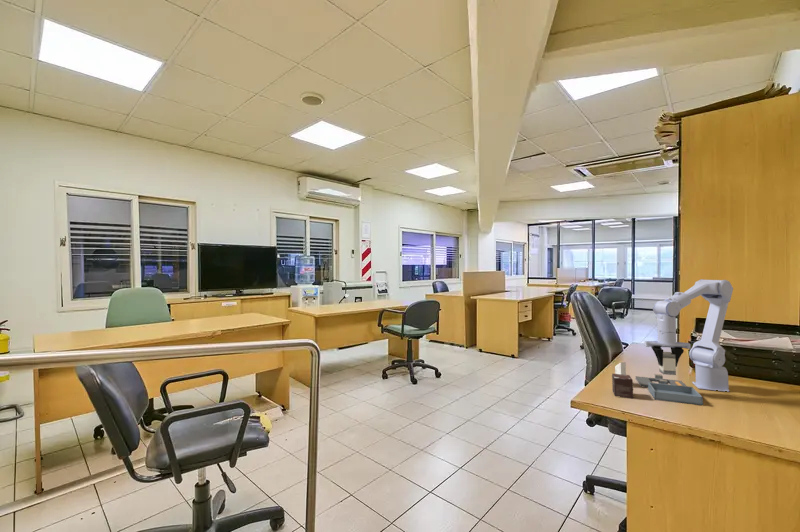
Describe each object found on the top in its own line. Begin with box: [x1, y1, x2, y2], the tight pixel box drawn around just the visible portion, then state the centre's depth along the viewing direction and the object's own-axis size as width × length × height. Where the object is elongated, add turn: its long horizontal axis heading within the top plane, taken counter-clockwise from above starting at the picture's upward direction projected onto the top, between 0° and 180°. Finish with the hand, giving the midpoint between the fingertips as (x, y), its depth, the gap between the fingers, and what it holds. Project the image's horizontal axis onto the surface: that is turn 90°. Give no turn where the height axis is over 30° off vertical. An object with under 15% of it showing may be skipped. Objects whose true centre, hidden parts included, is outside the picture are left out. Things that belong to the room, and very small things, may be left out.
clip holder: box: [635, 373, 687, 388], centre depth 140 cm, size 16×11×3 cm
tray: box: [647, 382, 704, 406], centre depth 127 cm, size 14×11×3 cm
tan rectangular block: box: [658, 351, 677, 376], centre depth 133 cm, size 4×4×8 cm
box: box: [611, 373, 634, 399], centre depth 131 cm, size 6×6×7 cm
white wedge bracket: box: [614, 361, 627, 375], centre depth 142 cm, size 4×10×9 cm
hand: (667, 365), depth 132 cm, fingers closed on tan rectangular block, 4 cm apart
